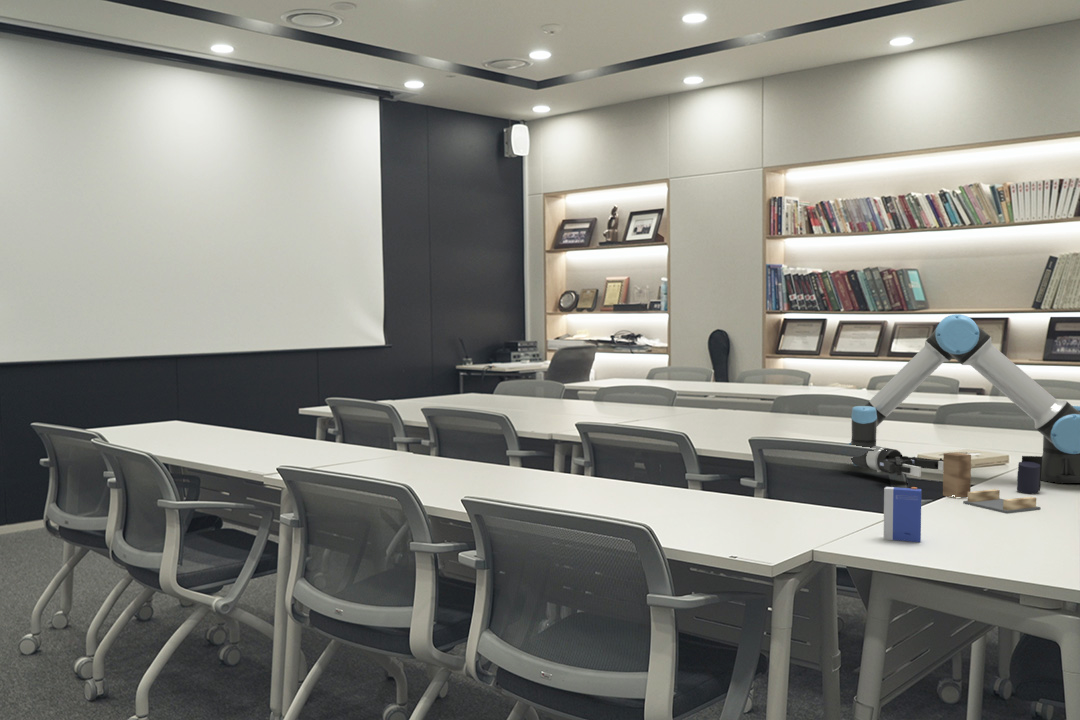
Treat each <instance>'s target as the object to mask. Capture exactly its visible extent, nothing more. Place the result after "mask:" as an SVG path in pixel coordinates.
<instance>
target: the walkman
mask: <svg viewBox="0 0 1080 720" xmlns="http://www.w3.org/2000/svg"><path fill="white" fill-rule="evenodd" d="M921 531H922V488H918V487H915V486H911V487H910V488H907V487H896V486H894V487H893V486H885V487H884V488H883V540H889V541H902V542H910V543H911V542H912V543H913V542H914V543H921V540H922V532H921Z"/></svg>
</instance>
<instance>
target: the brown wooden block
mask: <svg viewBox="0 0 1080 720" xmlns="http://www.w3.org/2000/svg"><path fill="white" fill-rule="evenodd" d="M942 457H943V458H942V460H943V471H942V496H943V497H948V498H950V497H949V496H952V495H955V497H968V492H971V489H972V488H971V486H972V485H971V484H972V481H971V479H972V478H971V477H972V454H969V453H963V452H947V453H946V452H945V453H943V456H942ZM953 497H954V496H953Z"/></svg>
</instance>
